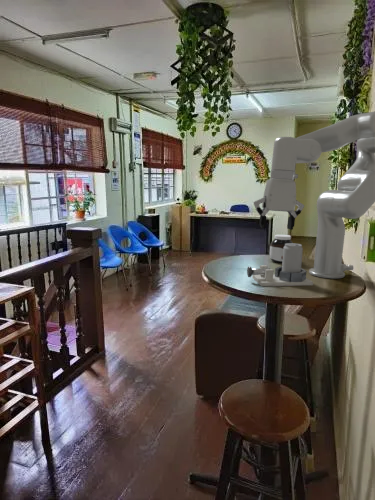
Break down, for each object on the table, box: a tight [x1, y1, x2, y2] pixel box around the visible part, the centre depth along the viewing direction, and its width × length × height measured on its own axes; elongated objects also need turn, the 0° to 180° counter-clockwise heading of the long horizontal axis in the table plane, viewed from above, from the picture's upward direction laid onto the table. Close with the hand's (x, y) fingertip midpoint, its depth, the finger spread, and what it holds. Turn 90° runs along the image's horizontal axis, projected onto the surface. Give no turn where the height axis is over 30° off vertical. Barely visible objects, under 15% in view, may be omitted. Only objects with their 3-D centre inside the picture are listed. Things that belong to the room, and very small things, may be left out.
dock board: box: [251, 264, 314, 287], centre depth 120 cm, size 18×10×5 cm, turn 97°
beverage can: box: [281, 242, 304, 273], centre depth 119 cm, size 6×6×12 cm
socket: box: [274, 265, 308, 282], centre depth 120 cm, size 10×10×3 cm
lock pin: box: [246, 266, 271, 278], centre depth 119 cm, size 8×4×4 cm, turn 97°
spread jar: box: [269, 234, 293, 265], centre depth 151 cm, size 12×11×12 cm
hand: (276, 228), depth 116 cm, fingers open, 9 cm apart
